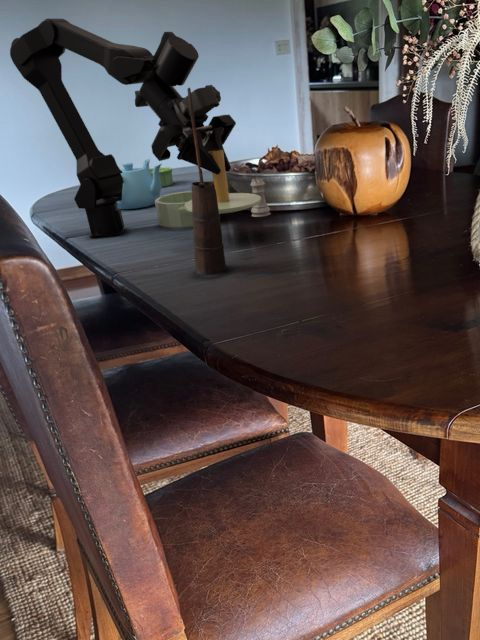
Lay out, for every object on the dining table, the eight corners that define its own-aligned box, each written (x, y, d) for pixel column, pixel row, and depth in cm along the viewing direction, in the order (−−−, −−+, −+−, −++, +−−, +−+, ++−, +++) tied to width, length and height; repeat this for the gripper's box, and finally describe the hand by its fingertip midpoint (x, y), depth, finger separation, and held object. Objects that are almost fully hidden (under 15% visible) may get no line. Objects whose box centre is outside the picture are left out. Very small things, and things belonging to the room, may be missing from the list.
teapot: (112, 214, 160) (102, 170, 154) (102, 205, 171) (92, 163, 166) (170, 205, 165) (162, 162, 159) (156, 196, 176) (148, 156, 171)
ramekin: (143, 185, 195) (140, 169, 193) (173, 181, 197) (170, 165, 195) (145, 189, 187) (142, 173, 185) (176, 185, 189) (173, 169, 187)
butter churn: (232, 283, 104) (204, 88, 90) (176, 284, 106) (140, 93, 92) (246, 266, 112) (223, 84, 98) (194, 267, 114) (163, 89, 99)
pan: (155, 235, 137) (150, 208, 134) (163, 216, 153) (159, 192, 150) (219, 228, 138) (216, 202, 135) (220, 210, 154) (217, 186, 151)
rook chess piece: (268, 219, 143) (264, 181, 138) (248, 219, 143) (244, 181, 139) (273, 214, 146) (269, 177, 142) (254, 214, 147) (250, 177, 143)
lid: (183, 219, 117) (172, 159, 112) (187, 203, 129) (178, 148, 124) (263, 211, 118) (256, 152, 113) (260, 196, 130) (254, 142, 125)
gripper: (150, 73, 107) (211, 146, 107) (220, 66, 120) (275, 131, 121) (126, 125, 115) (184, 193, 115) (195, 113, 128) (246, 174, 129)
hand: (224, 171), depth 120 cm, fingers closed on lid, 2 cm apart
